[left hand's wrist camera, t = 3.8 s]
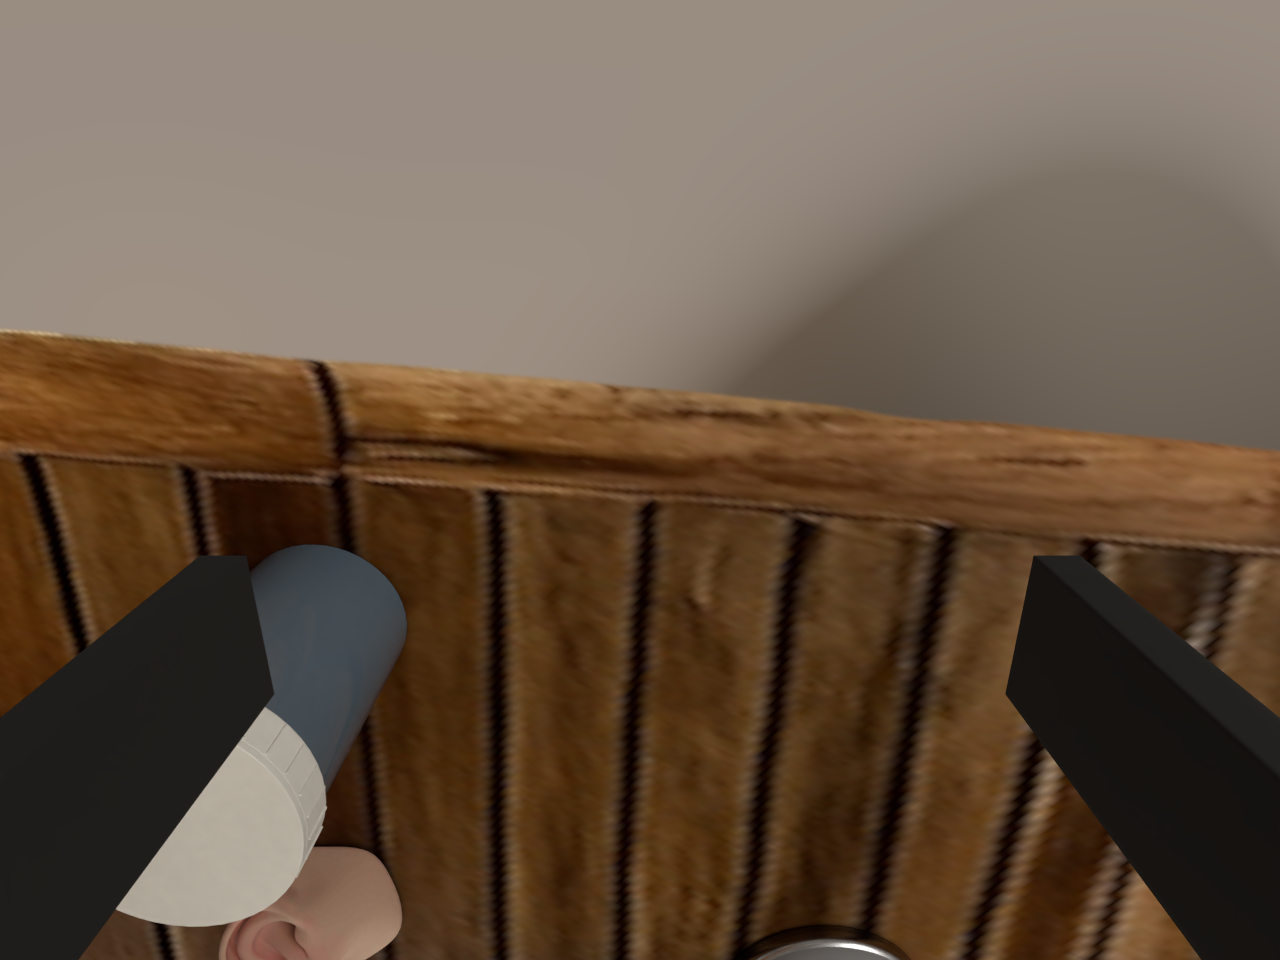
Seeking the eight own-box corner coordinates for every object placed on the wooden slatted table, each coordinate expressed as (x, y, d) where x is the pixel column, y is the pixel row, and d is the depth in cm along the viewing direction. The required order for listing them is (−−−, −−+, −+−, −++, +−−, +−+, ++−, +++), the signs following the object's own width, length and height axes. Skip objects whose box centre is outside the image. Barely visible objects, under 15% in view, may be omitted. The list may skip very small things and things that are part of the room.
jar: (422, 570, 44) (313, 754, 29) (390, 704, 47) (279, 930, 32) (250, 524, 43) (50, 691, 28) (231, 665, 46) (42, 880, 31)
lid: (346, 715, 31) (324, 754, 29) (307, 903, 34) (285, 951, 32) (72, 647, 30) (27, 683, 28) (62, 849, 33) (21, 895, 31)
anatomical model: (326, 871, 46) (427, 987, 50) (349, 821, 50) (441, 932, 54) (156, 941, 48) (265, 1048, 52) (191, 888, 52) (290, 991, 56)
